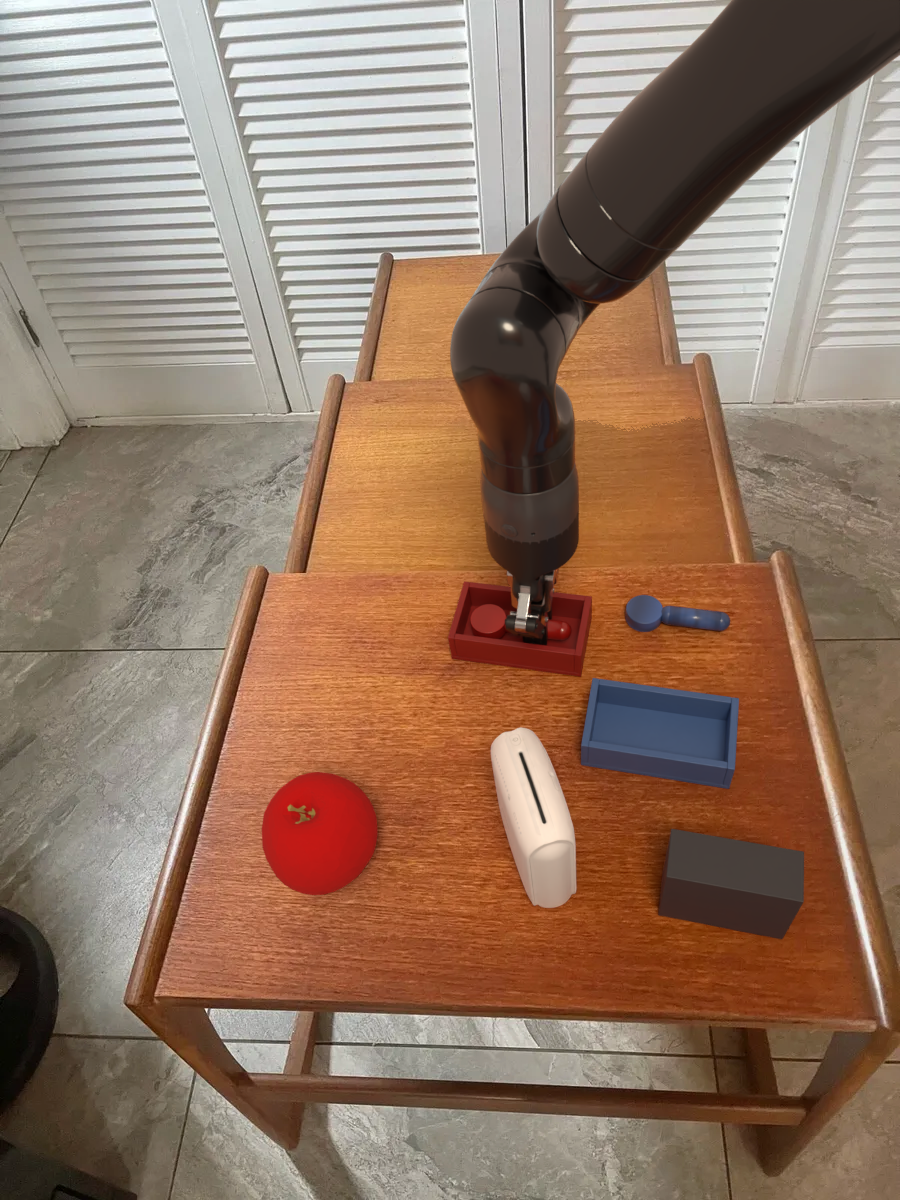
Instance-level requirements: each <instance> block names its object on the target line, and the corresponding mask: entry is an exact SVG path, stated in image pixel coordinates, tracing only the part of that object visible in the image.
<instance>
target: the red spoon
mask: <svg viewBox="0 0 900 1200" xmlns="http://www.w3.org/2000/svg"><path fill="white" fill-rule="evenodd" d="M506 618H507V617H506V613H505V612H504V610H503V609H502V608H501V607H499V606H497V605H493V604H485V605H481V606H479V607H478V608H476V609H475V610H474V611H473V612H472V614H471V617H470V623H471V629H472V632H473V634H474V636H477V637H485V638H493V639H499V638H501V637H502V636H503V635H504V634H505V632H507V633H509V634H512V633H511V632H509V631H508V630H506V625H505V619H506ZM547 626H548V639H553V640H561V641H563V640H566V639H568V638H569V637H570V635H571V632H572V629H571V626H570V625H569V624H568V623H567V622H565V621H558V620H550V619H549V620H548V623H547Z"/></svg>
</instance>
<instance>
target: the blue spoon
mask: <svg viewBox="0 0 900 1200" xmlns="http://www.w3.org/2000/svg"><path fill="white" fill-rule="evenodd" d="M625 621H626V622H625V623H626V624H627V625H628V626H629V628H631V629H632V630H634V631H637V632H639V633H648V632H649V633H650V632H653V631H655V630H656V629H658V628H659V626H660V625H661V624H662V623H663V624H664V625H667V626H674V627H675V626H676V627H684V628H691V629H699V630H700V629H701V630H708V631H714V632H715V631H716V632H723V631H726V630H727V629H728V628H729V627H730V625H731V618H730V615H729V614H727V613H726V612H724V611H719V610H710V609H702V608H695V607H694V608H693V607H685V606H677V605H665V606H663V604H662V603H661V601H660V600H658V599H657V598H656V597H654V596H652V595H649V594H640V595H635V596H634V597H631V598H630V599H629V600H628V602H627V603H626V606H625Z"/></svg>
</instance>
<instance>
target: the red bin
mask: <svg viewBox="0 0 900 1200" xmlns="http://www.w3.org/2000/svg"><path fill="white" fill-rule="evenodd" d="M485 604H493V605H497V606H499V607H501V608H502V609H503V610H504V612H505V613H506V617H507V615H510V612H511V611H514V612H517V609H516V608H514V607H513V606H512V602H511V587H510V586H509V585H508V586H507V585H498V584H491V583H483V582H482V583H481V582H474V581H466V580H465V581H463V584H462V586H461V591H460V594H459V597H458V601H457V604H456V608H455V612H454V615H453V618H452V622H451V626H450V629H449V632H448V636H447V640H448V646H449V650H450V655H451V659H452V660H457V661H463V662H464V661H465V662H470V663H471V662H472V663H477V664H478V663H479V664H485V665H492V666H493V665H494V666H501V667H508V668H513V669H514V668H516V669H523V670H529V671H537V672H542V673H543V672H544V673H551V674H552V673H553V674H559V675H564V676H572V677H579V678H580V677H582V672H583V669H584V668H583V667H584V663H585V657H586V651H587V646H588V642H589V641H588V640H589V635H590V629H591V624H592V617H593V616H592V614H593V613H592V611H593V596H591V595H583V594H576V593H575V594H574V593H568V592H567V593H566V592H557V591H555V592H554V593H553V601H552V620H558V621H565V622H567V623H568V624H569V625H570V626H571V629H572V632H571V635H570V637H569V638H568V639H566V640H563V641H561V640H553V639H548V641H547V645H546V646H545V645H538V644H530V643H524V642H523V636H517V635H513V634H509V633H507V632H505V634H504V635H503V636H502V637H501V638H499V639H493V638H485V637H477V636H474V634H473V632H472V629H471V623H470V617H471V614H472V612H473V611H474V610H475V609H476V608H478V607H479V606H481V605H485Z"/></svg>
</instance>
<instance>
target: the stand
mask: <svg viewBox="0 0 900 1200" xmlns="http://www.w3.org/2000/svg"><path fill="white" fill-rule="evenodd" d="M662 867H663V868H662V872H661V873H662V874H661V883H660V884H661V885H660V893H659V904H658V913H657V915H658V916H660V917H666V918H670V919H675V920H681V921H686V922H691V923H697V924H701V925H707V926H712V927H715V928H716V927H717V928H722V929H726V930H733V931H737V932H741V933H747V934H754V935H758V936H763V937H768V938H772V939H778V940H783V939H784V938H785V936H786V934H787V932H788V931H789V929H790V927H791V925H792V923H793V922H794V920H795V918H796V916H797V914H798V912H799V911H800V909H801V907H802V906H803V904H804V902H805V895H804V894H805V851H802V850H797V849H792V848H791V849H790V848H786V847H779V846H774V845H769V844H762V843H757V842H750V841H745V840H739V839H734V838H728V837H723V836H716V835H711V834H706V833H699V832H693V831H688V830H682V829H676V828H670V831H669V838H668V843H667V847H666V853H665V857H664V862H663V866H662Z"/></svg>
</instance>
